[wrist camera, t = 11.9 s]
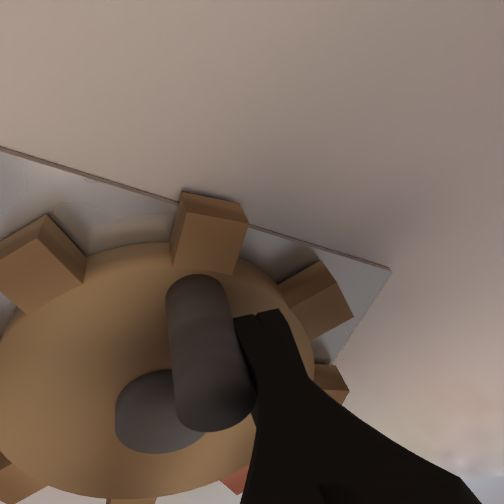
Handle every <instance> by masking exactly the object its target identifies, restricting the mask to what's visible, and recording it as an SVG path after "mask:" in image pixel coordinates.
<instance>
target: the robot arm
mask: <svg viewBox="0 0 504 504" xmlns="http://www.w3.org/2000/svg"><path fill="white" fill-rule="evenodd" d="M233 322H234V328H235V331H236V334H237V338H238V341H239V343H240V346H241V349H242V352H243V354H244V357H245V360H246V363H247V367H248V370H249V373H250V377H251V380H252V383H253V386H254V390H255V393H256V403H255V406H254V408H253V410H252V411H251V415H252V418H253V421H254V424H255V426H256V434H255V440H254V445H253V451H252V456H251V461H250V465H249V469H248V473H247V478H246V482H245V486H244V490H243V494H242V498H241V502H240V504H482V503H481V502H480V501H479V500H478V499H477V497H476V496H475V495H474V494H473V492H471V490H470V489H469V488H468V487H467V485H466V484H465V483H464V482H463V481H462V480H461V478H460V477H458V476H456V475H454V474H452V473H450V472H448V471H446V470H444V469H442V468H440V467H438V466H436V465H434V464H432V463H430V462H429V461H427V460H425V459H423V458H421V457H419V456H418V455H416V454H414V453H412V452H411V451H409V450H407V449H406V448H404V447H402V446H401V445H399V444H397V443H396V442H394V441H392V440H391V439H389V438H388V437H386V436H385V435H383V434H382V433H380V432H379V431H377V430H376V429H374V428H373V427H371V426H370V425H368V424H367V423H365V422H364V421H362V420H361V419H359V418H358V417H357V416H355V415H354V414H353V413H351V412H350V411H349V410H347V409H346V408H345V407H343V406H342V405H341V404H339V403H338V402H337V401H336V400H334V399H333V398H332V397H331V396H330V395H328V394H327V393H326V392H325V391H324V390H323V389H321V388H320V387H319V386H318V385H317V384H316V383H315V382H314V381H313V380H312V379H310V378H309V377H308V375H307V372H306V369H305V366H304V364H303V361H302V358H301V356H300V353H299V350H298V347H297V345H296V342H295V339H294V337H293V334H292V331H291V329H290V326H289V324H288V322H287V320H286V319H285V317H284V315H283V314H282V313H281V311H280V310H279V308H277V309H272V310H267V311H263V312H258V313H257V314H256V315H253V314H249V315H245V316H240V317H236V318H233Z"/></svg>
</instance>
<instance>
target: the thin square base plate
mask: <svg viewBox="0 0 504 504" xmlns="http://www.w3.org/2000/svg"><path fill="white" fill-rule="evenodd" d="M178 207H179V202H176V201H173V200H170V199H166V198H163V197H160V196H157V195H153V194H150V193H147V192H144V191H141V190H137V189H134V188H131V187H128V186H125V185H121V184H118V183H115V182H112V181H109V180H105V179H102V178H99V177H96V176H92V175H89V174H86V173H83V172H80V171H76V170H73V169H70V168H67V167H64V166H60V165H57V164H54V163H51V162H48V161H44V160H41V159H38V158H35V157H31V156H28V155H25V154H22V153H19V152H15V151H12V150H9V149H6V148H3V147H0V242H1V241H2V240H4V239H6V238H7V237H9V236H11V235H12V234H14V233H16V232H17V231H19V230H21V229H22V228H24V227H26V226H28V225H29V224H31V223H33V222H34V221H36V220H38V219H39V218H41V217H43V216H44V215H47V216H48V217H49V218H50V219H51V220H52V221H53V222H54V223H55V224H56V225H57V226H58V227H59V228H60V230H61V231H62V232H63V233H64V234H65V235H66V236H67V237H68V238H69V239H70V240H71V241H72V242H73V243H74V245H75V246H76V247H77V248H78V249H79V250H80V251H81V252H82V253H83V254H84V255H85V256H86V257H89V256H92V255H95V254H97V253H100V252H103V251H106V250H110V249H115V248H119V247H123V246H127V245H134V244H143V243H151V242H170V238H171V234H172V230H173V226H174V222H175V219H176V215H177V211H178ZM238 257H240V258H242V259H244V260H246V261H248V262H250V263H252V264H254V265H255V266H257V267H258V268H259V269H261V270H262V271H264V272H265V273H266V274H268V275H269V276H270V277H271V278H272V279H273V280H274V281H275V282H276V283H277V284H280V283H282V282H283V281H285V280H287V279H289V278H291V277H292V276H294V275H296V274H298V273H299V272H301V271H303V270H305V269H307V268H308V267H310V266H312V265H314V264H315V263H317V262H319V261H321V260H322V262H323V263H324V264H325V266H326V267H327V269H328V270H329V272H330V273H331V274H332V276H333V277H334V279H335V280H336V282H337V283H338V285H339V287H340V289H341V291H342V293H343V295H344V297H345V299H346V301H347V303H348V305H349V307H350V309H351V311H352V313H353V315H354V317H353V318H351V319H350V320H348V321H346V322H344V323H342V324H340V325H339V326H337V327H335V328H333V329H331V330H330V331H328V332H326V333H324V334H322V335H320V336H319V337H317V338H315V339H313V340H311V341H310V343H311V347H312V350H313V355H314V364H322V365H331V364H332V363H333V361H334V360H335V358H336V357H337V355H338V354H339V352H340V351H341V349H342V348H343V346H344V345H345V343H346V342H347V340H348V338H349V337H350V335H351V334H352V332H353V331H354V329H355V328H356V326H357V325H358V323H359V322H360V320H361V319H362V317H363V316H364V314H365V313H366V311H367V310H368V308H369V307H370V305H371V304H372V302H373V301H374V299H375V298H376V296H377V295H378V293H379V292H380V290H381V289H382V287H383V285H384V284H385V282H386V281H387V279H388V278H389V276H390V275H391V273H392V271H391V270H390V269H389V268H388V267H385V266H381V265H378V264H375V263H372V262H369V261H365V260H362V259H359V258H356V257H353V256H349V255H346V254H343V253H340V252H336V251H333V250H330V249H327V248H324V247H320V246H317V245H314V244H311V243H308V242H304V241H301V240H298V239H295V238H292V237H288V236H285V235H282V234H279V233H275V232H272V231H269V230H266V229H263V228H259V227H256V226H253V225H250V224H249V226H248V229H247V232H246V235H245V238H244V241H243V244H242V247H241V250H240V253H239V256H238ZM17 308H18V306H16V305H15V304H14V303H13V302H12V301H11V300H9V299H8V298H7V297H6V296H5V295H4V294H3V293H1V292H0V339H1V337H2V334H3V332H4V329H5V327H6V325H7V323H8V322H9V320H10V318H11V316H12V315H13V313H14V311H15V310H16V309H17Z"/></svg>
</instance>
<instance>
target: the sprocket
mask: <svg viewBox="0 0 504 504" xmlns="http://www.w3.org/2000/svg"><path fill="white" fill-rule="evenodd" d="M248 226H249V222H248V220H247V218H246V216H245V214H244V212H243V210H242V208H241V206H240V204H239V203H234V202H229V201H225V200H220V199H215V198H210V197H205V196H200V195H195V194H190V193H185V192H182V195H181V199H180V203H179V207H178V211H177V215H176V219H175V222H174V226H173V230H172V234H171V238H170V242H151V243H143V244H134V245H127V246H123V247H119V248H115V249H110V250H106V251H103V252H100V253H97V254H95V255H92V256H89V257H86V256H85V255H84V254H83V253H82V252H81V251H80V250H79V249H78V248H77V247H76V246H75V245H74V243H73V242H72V241H71V240H70V239H69V238H68V237H67V236H66V235H65V234H64V233H63V232H62V231H61V230H60V228H59V227H58V226H57V225H56V224H55V223H54V222H53V221H52V220H51V219H50V218H49V217H48V216H47V215H44V216H43V217H41V218H39V219H38V220H36V221H34V222H33V223H31V224H29V225H28V226H26V227H24V228H22V229H21V230H19V231H17V232H16V233H14V234H12V235H11V236H9V237H7V238H6V239H4V240H2V241H1V242H0V292H1V293H3V294H4V295H5V296H6V297H7V298H8V299H9V300H11V301H12V302H13V303H14V304H15V305H16V306H18V308H17V309H16V310H15V311H14V313H13V315H12V316H11V318H10V320H9V322H8V323H7V325H6V327H5V329H4V332H3V334H2V337H1V339H0V501H2V502H4V503H6V504H15V503H17V502H19V501H21V500H23V499H24V498H26V497H28V496H30V495H32V494H34V493H35V492H37V491H39V490H41V489H43V488H44V487H46V486H48V485H49V486H52V487H54V488H57V489H60V490H62V491H66V492H70V493H74V494H78V495H83V496H89V497H95V498H105V499H107V500H106V504H155V501H156V498H157V497H160V496H167V495H172V494H177V493H181V492H185V491H189V490H192V489H196V488H199V487H202V486H205V485H208V484H210V483H213V482H215V481H218V480H220V481H221V482H222V483H223V484H224V485H226V486H227V487H228V488H229V489H230V490H231V491H233V492H234V493H235V494H236V495H238V494H240V493H242V492H243V490H244V486H245V482H246V478H247V473H248V469H249V465H250V461H251V456H252V451H253V445H254V440H255V434H256V426H255V424H254V421H253V418H252V415H251V411H252V410H253V408H254V406H255V403H256V393H255V390H254V386H253V383H252V380H251V377H250V373H249V370H248V367H247V363H246V360H245V357H244V354H243V352H242V349H241V346H240V343H239V341H238V338H237V334H236V331H235V328H234V322H233V318H236V317H240V316H245V315H249V314H253V315H256V314H257V313H258V312H263V311H267V310H272V309H277V308H279V310H280V311H281V313H282V314H283V315H284V317H285V319H286V320H287V322H288V324H289V326H290V329H291V331H292V334H293V337H294V339H295V342H296V345H297V347H298V350H299V353H300V356H301V358H302V361H303V364H304V366H305V369H306V372H307V375H308V377H309V378H310V379H312V380H313V381H314V382H315V383H316V384H317V385H318V386H319V387H320V388H321V389H323V390H324V391H325V392H326V393H327V394H328V395H330V396H331V397H332V398H333V399H334V400H336V401H337V402H338V403H339V404H341V405H342V403H343V402H344V400H345V398H346V396H347V395H348V393H349V389H348V387H347V385H346V384H345V382H344V380H343V378H342V376H341V374H340V372H339V371H338V369H337V367H336V365H322V364H314V355H313V350H312V347H311V343H310V341H311V340H313V339H315V338H317V337H319V336H320V335H322V334H324V333H326V332H328V331H330V330H331V329H333V328H335V327H337V326H339V325H340V324H342V323H344V322H346V321H348V320H350V319H351V318H353V317H354V315H353V313H352V311H351V309H350V307H349V305H348V303H347V301H346V299H345V297H344V295H343V293H342V291H341V289H340V287H339V285H338V283H337V282H336V280H335V279H334V277H333V276H332V274H331V273H330V272H329V270H328V269H327V267H326V266H325V264H324V263H323V262H322V260H321V261H319V262H317V263H315V264H314V265H312V266H310V267H308V268H307V269H305V270H303V271H301V272H299V273H298V274H296V275H294V276H292V277H291V278H289V279H287V280H285V281H283V282H282V283H280V284H277V283H276V282H275V281H274V280H273V279H272V278H271V277H270V276H269V275H268V274H266V273H265V272H264V271H262V270H261V269H259V268H258V267H257V266H255V265H254V264H252V263H250V262H248V261H246V260H244V259H242V258H240V257H238V256H239V253H240V250H241V247H242V244H243V241H244V238H245V235H246V232H247V229H248Z"/></svg>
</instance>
